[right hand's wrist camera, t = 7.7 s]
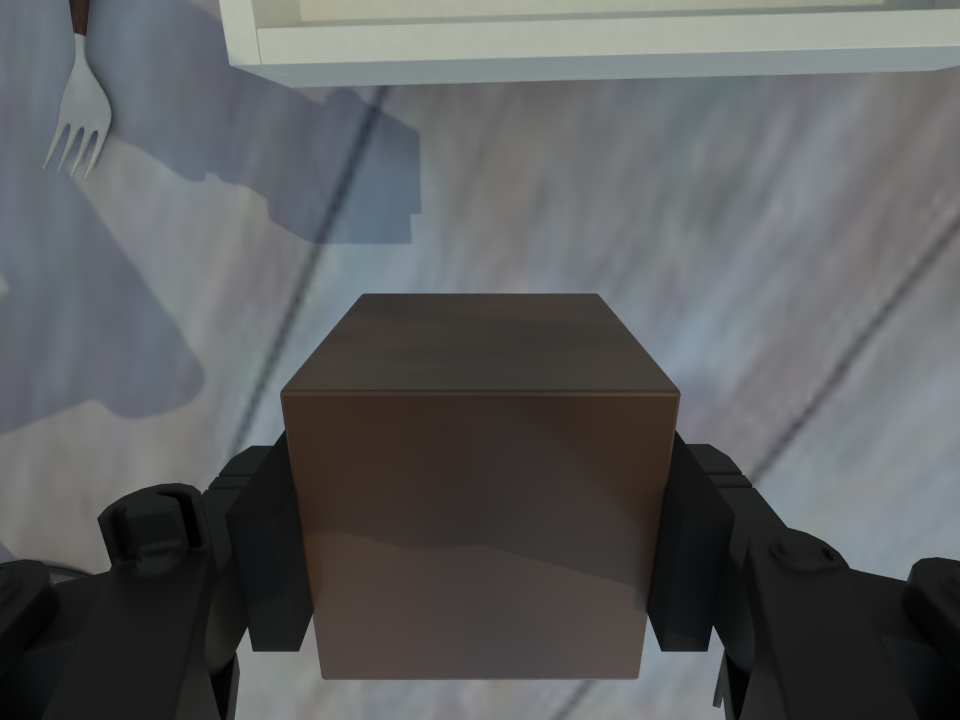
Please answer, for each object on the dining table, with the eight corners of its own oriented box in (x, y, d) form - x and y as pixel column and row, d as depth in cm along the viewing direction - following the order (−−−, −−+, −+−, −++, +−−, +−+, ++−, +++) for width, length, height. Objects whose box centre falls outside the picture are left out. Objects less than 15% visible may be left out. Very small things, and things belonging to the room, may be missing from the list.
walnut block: (377, 493, 16) (321, 682, 10) (361, 292, 13) (276, 391, 8) (582, 493, 16) (639, 682, 10) (599, 293, 13) (683, 391, 8)
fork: (110, -180, 24) (79, -207, 22) (114, 179, 30) (89, 181, 28) (51, -197, 24) (14, -226, 22) (65, 167, 30) (38, 169, 28)
